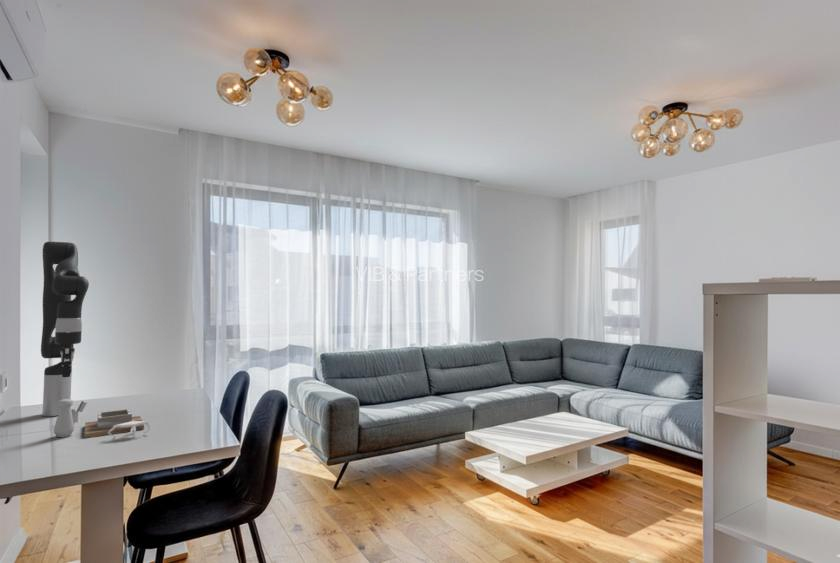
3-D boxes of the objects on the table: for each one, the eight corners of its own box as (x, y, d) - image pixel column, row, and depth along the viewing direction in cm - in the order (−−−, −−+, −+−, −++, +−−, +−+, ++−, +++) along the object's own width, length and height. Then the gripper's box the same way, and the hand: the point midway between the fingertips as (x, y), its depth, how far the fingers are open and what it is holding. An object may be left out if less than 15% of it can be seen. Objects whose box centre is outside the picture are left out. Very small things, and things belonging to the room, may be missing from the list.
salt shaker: (55, 439, 155) (57, 402, 156) (51, 436, 159) (52, 399, 159) (76, 435, 160) (77, 399, 161) (71, 432, 163) (72, 397, 164)
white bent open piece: (142, 431, 166) (143, 417, 167) (150, 435, 161) (151, 421, 161) (104, 438, 157) (105, 424, 158) (111, 443, 152) (112, 428, 152)
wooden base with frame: (84, 426, 172) (85, 412, 172) (139, 419, 182) (140, 405, 183) (84, 437, 157) (85, 422, 158) (144, 429, 168) (144, 414, 168)
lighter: (65, 424, 174) (66, 404, 175) (63, 423, 175) (64, 403, 176) (86, 420, 181) (87, 400, 181) (84, 419, 181) (85, 400, 182)
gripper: (56, 330, 165) (54, 373, 164) (54, 331, 153) (51, 379, 152) (81, 329, 169) (80, 372, 168) (81, 331, 158) (79, 377, 157)
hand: (66, 375), depth 160 cm, fingers open, 8 cm apart
